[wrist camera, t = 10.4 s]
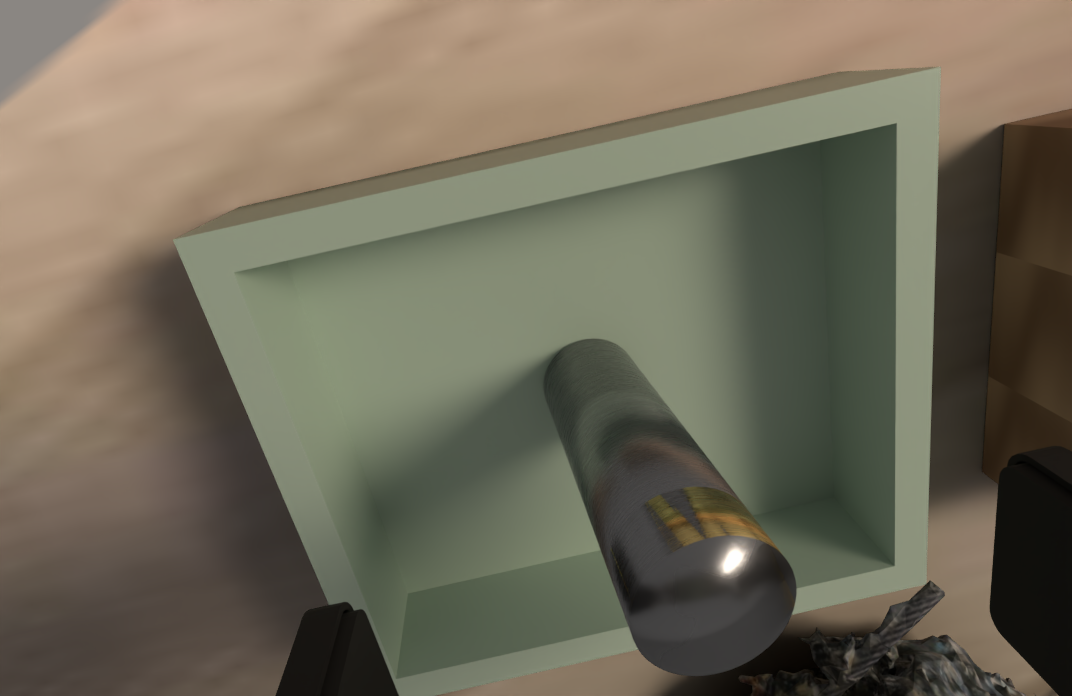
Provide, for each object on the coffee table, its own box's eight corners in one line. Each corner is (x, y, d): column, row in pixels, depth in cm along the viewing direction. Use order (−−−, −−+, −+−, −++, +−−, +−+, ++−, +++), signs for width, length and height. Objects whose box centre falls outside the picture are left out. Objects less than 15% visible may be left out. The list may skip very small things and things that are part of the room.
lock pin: (642, 413, 17) (800, 650, 10) (553, 435, 17) (642, 693, 9) (629, 328, 16) (792, 516, 9) (534, 350, 16) (617, 561, 9)
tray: (850, 501, 19) (926, 584, 16) (391, 605, 19) (373, 709, 16) (839, 71, 15) (940, 67, 12) (239, 207, 15) (172, 239, 12)
